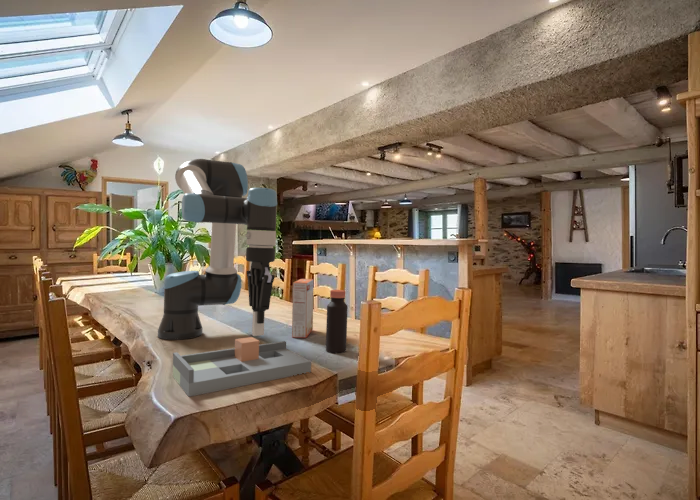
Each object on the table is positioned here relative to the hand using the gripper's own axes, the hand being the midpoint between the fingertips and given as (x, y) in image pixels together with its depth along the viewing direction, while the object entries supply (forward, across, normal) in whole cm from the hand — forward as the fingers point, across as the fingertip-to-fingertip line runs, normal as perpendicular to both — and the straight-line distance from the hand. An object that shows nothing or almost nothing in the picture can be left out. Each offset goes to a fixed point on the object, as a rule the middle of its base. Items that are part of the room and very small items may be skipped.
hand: (257, 334), depth 103 cm
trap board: (+11, -1, -3) cm, 11 cm away
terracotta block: (+8, -5, -1) cm, 9 cm away
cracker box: (+12, -33, +33) cm, 48 cm away
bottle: (+11, -7, +31) cm, 34 cm away
